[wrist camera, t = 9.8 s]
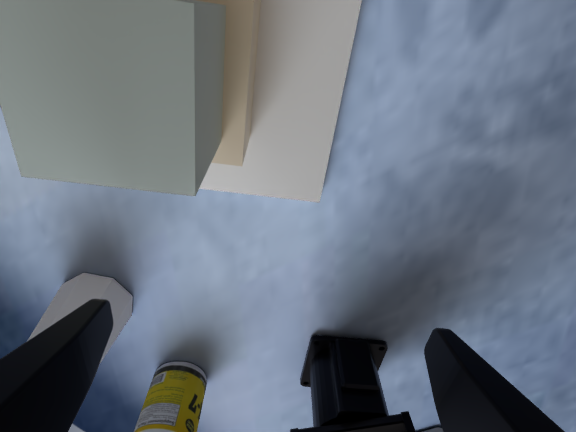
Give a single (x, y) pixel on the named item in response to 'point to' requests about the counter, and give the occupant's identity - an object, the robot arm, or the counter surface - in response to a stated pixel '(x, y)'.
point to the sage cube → (114, 90)
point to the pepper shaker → (80, 293)
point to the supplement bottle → (173, 399)
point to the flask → (434, 430)
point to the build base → (281, 95)
